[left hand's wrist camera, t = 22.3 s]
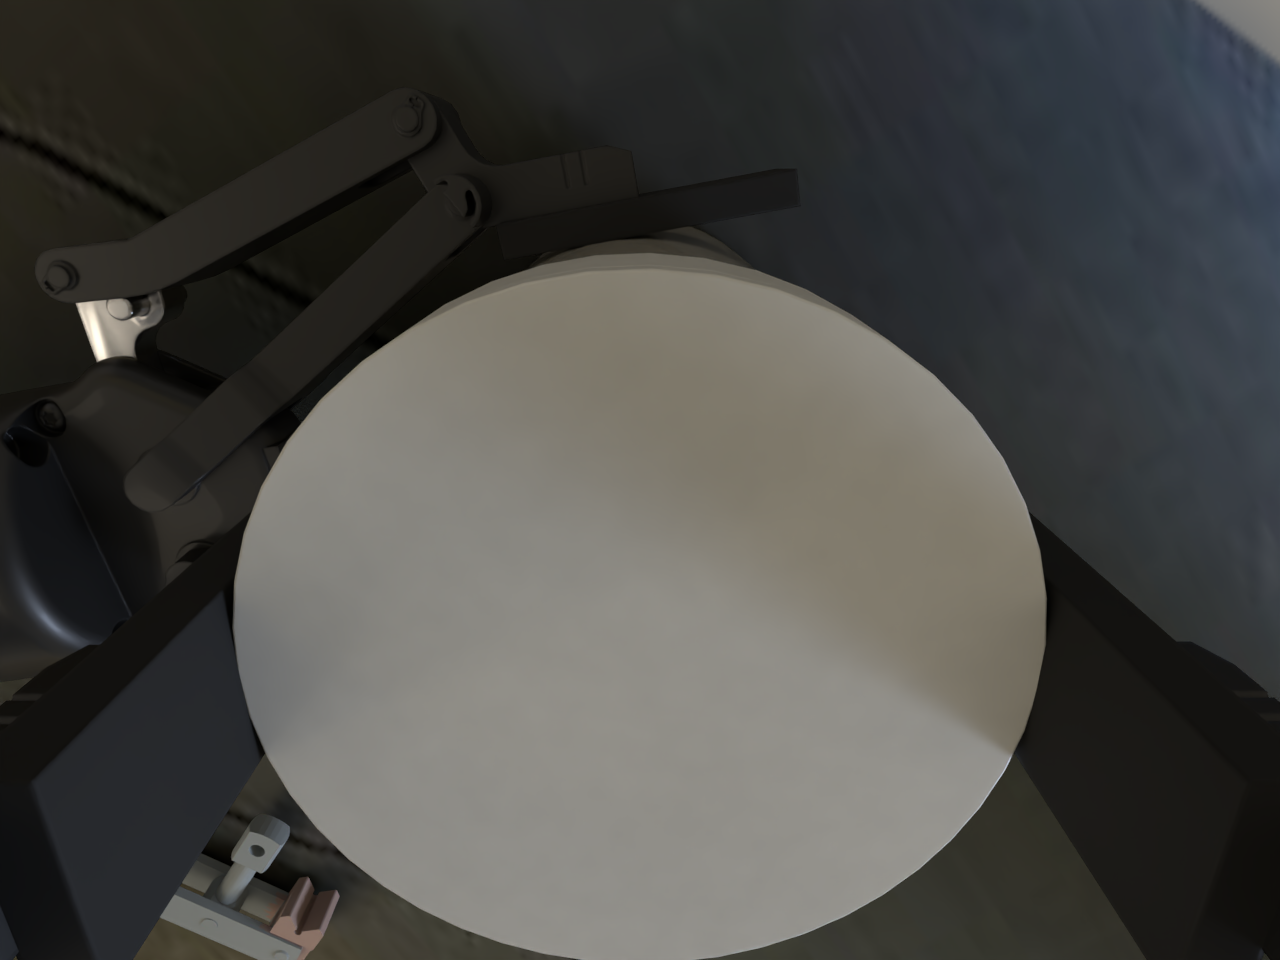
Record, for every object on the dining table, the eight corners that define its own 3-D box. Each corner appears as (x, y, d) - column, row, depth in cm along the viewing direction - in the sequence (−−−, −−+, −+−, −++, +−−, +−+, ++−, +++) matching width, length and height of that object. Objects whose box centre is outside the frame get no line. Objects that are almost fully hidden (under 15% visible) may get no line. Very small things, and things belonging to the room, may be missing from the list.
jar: (455, 257, 25) (178, 391, 10) (758, 184, 24) (953, 207, 9) (538, 528, 29) (426, 930, 14) (805, 472, 28) (1003, 832, 13)
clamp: (355, 893, 32) (253, 1030, 35) (372, 849, 34) (275, 982, 37) (-16, 722, 29) (-92, 889, 32) (28, 686, 31) (-47, 846, 34)
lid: (234, 242, 10) (154, 255, 8) (1062, 262, 10) (1143, 281, 8) (332, 865, 14) (291, 958, 12) (930, 876, 14) (968, 970, 12)
